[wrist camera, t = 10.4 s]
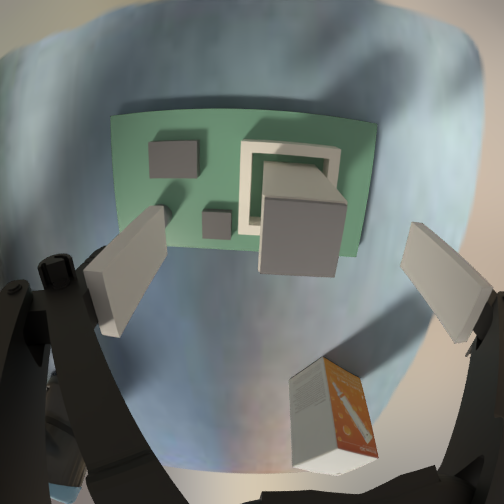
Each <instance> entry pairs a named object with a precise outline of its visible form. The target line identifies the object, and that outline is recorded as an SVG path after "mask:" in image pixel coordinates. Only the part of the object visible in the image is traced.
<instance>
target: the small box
mask: <svg viewBox="0 0 504 504" xmlns="http://www.w3.org/2000/svg"><path fill="white" fill-rule="evenodd" d="M289 399H290V420H291V446H292V467H294V468H299V469H303V470H308V471H311V472H315V473H323V474H329V475H335V476H338V475H341V474H344V473H347V472H349V471H352V470H354V469H357V468H359V467H361V466H363V465H366V464H368V463H370V462H372V461H374V460H376V459H378V458H379V457H378V453H377V449H376V443H375V439H374V434H373V430H372V425H371V421H370V416H369V412H368V408H367V404H366V400H365V396H364V392H363V388H362V384H361V380H360V378H359V377H356V376H354V375H353V374H351V373H349V372H347V371H346V370H344V369H342V368H340V367H339V366H337V365H336V364H334V363H332V362H331V361H329V360H328V359H326V358H324V357H321V358H320V359H318V360H317V361H316V362H314V363H313V364H311V365H310V366H309V367H307V368H306V369H304V370H303V371H301V372H300V373H298V374H297V375H295V376H294V377H293V378H291V379H290V380H289Z"/></svg>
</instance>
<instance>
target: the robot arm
mask: <svg viewBox="0 0 504 504" xmlns="http://www.w3.org/2000/svg"><path fill="white" fill-rule="evenodd" d="M166 256H167V245H166V233H165V220H164V206H149V207H148V208H146V209H145V210H144V211H143V212H142V213H141V214H140V215H139V216H138V217H137V218H136V219H134V220H133V221H132V222H131V223H130V224H129V225H128V226H127V227H126V228H125V229H124V230H123V231H122V232H121V233H120V234H119V235H118V236H116V237H115V238H114V239H113V240H112V241H111V242H110V243H109V244H108V245H107V246H103V247H101V248H99V249H97V250H96V251H94V252H93V253H92V254H91V255H90V256H89V258H87V259H86V260H85V261H84V263H82V264H81V265H80V266H79V267H78V268H77V269H76V270H75V268H74V264H73V260H72V257H71V256H70V255H68V254H56V255H52V256H50V257H47V258H46V259H44V260H42V261H41V262H40V263H39V265H38V271H39V275H40V278H41V281H42V284H43V287H44V290H39V291H31V288H30V285H29V283H28V281H26V280H16V281H15V280H14V281H11V282H9V283H8V284H7V285H6V286H5V287H4V288H3V289H2V290H1V292H0V504H51V498H53V499H55V500H57V501H60V502H63V503H66V504H71V503H74V502H75V500H76V498H77V496H78V493H79V491H80V490H81V488H82V487H81V486H82V483H83V479H84V477H85V474H86V471H87V470H88V475H87V477H86V484H87V487H88V490H89V492H90V495H91V497H92V499H93V501H94V503H95V504H189V503H188V501H187V500H186V499H185V498H184V496H183V495H182V494H181V492H180V491H179V490H178V488H177V487H176V485H175V484H174V483H173V481H172V480H171V479H170V477H169V475H168V474H167V473H166V471H165V470H164V468H163V467H162V465H161V463H160V462H159V460H158V459H157V457H156V456H155V454H154V453H153V451H152V450H151V448H150V446H149V445H148V443H147V441H146V440H145V438H144V436H143V435H142V433H141V431H140V429H139V427H138V426H137V424H136V422H135V420H134V418H133V417H132V415H131V413H130V411H129V409H128V407H127V405H126V403H125V401H124V399H123V397H122V395H121V393H120V391H119V389H118V387H117V385H116V382H115V380H114V378H113V376H112V374H111V371H110V369H109V367H108V364H107V362H106V360H105V357H104V355H103V352H102V350H101V347H100V345H99V342H98V340H97V337H96V334H95V332H94V328H95V327H96V325H97V324H99V327H100V330H101V333H102V335H106V336H112V337H117V338H120V337H121V335H122V333H123V331H124V329H125V327H126V325H127V323H128V322H129V320H130V318H131V316H132V314H133V313H134V311H135V309H136V307H137V305H138V304H139V302H140V300H141V298H142V297H143V295H144V293H145V291H146V290H147V288H148V286H149V285H150V283H151V281H152V279H153V278H154V276H155V274H156V273H157V271H158V269H159V268H160V266H161V264H162V263H163V261H164V259H165V258H166ZM400 267H401V268H402V270H403V271H404V272H405V273H406V275H407V276H408V277H409V279H410V280H411V281H412V283H413V284H414V285H415V287H416V288H417V289H418V291H419V292H420V294H421V295H422V296H423V298H424V299H425V300H426V302H427V303H428V305H429V306H430V308H431V309H432V310H433V312H434V313H435V315H436V316H437V318H438V319H439V321H440V322H441V324H442V325H443V327H444V328H445V330H446V331H447V333H448V334H449V336H450V337H451V339H452V340H453V342H454V344H456V343H463V342H467V340H468V338H469V337H470V335H471V333H472V331H474V332H475V334H476V335H477V336H476V338H475V339H474V341H473V343H472V345H471V346H470V348H469V350H468V352H467V353H466V355H465V356H466V357H467V356H468V355H469V354H471V357H470V364H469V369H468V375H467V380H466V384H465V389H464V393H463V398H462V402H461V406H460V409H459V413H458V417H457V420H456V424H455V427H454V430H453V433H452V437H451V439H450V442H449V446H448V448H447V451H446V454H445V456H444V459H443V462H442V464H441V466H440V468H439V469H438V471H437V470H436V467H435V465H433V466H430V467H427V468H424V469H420V470H417V471H414V472H410V473H406V474H403V475H400V476H398V477H396V478H394V479H392V480H390V481H388V482H386V483H384V484H382V485H380V486H378V487H376V488H374V489H372V490H369V491H367V492H365V493H362V494H344V493H332V492H324V491H316V490H303V491H262V493H261V496H260V499H259V500H254V501H249V502H245V503H242V504H504V292H501V291H500V292H498V294H497V293H496V292H495V291H494V290H493V286H492V285H491V284H490V283H489V282H488V281H487V280H486V279H485V278H484V277H482V276H481V274H480V273H479V272H477V271H476V270H475V269H474V268H473V267H472V266H471V265H470V264H469V263H468V262H467V261H466V260H465V259H464V258H463V257H462V256H460V255H459V254H458V253H457V252H456V251H455V250H454V249H453V248H452V247H450V246H449V245H448V244H447V243H446V242H445V241H443V240H442V239H441V238H440V237H439V236H438V235H436V234H435V233H434V232H433V231H432V230H430V229H429V228H428V227H427V226H426V225H424V224H423V223H418V222H411V227H410V231H409V235H408V239H407V243H406V247H405V250H404V254H403V258H402V261H401V265H400ZM50 347H51V348H52V353H53V359H54V364H55V368H56V373H57V375H54V376H52V377H51V378H50V380H49V381H48V383H47V374H48V364H49V355H50Z"/></svg>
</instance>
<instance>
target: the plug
mask: <svg viewBox="0 0 504 504" xmlns="http://www.w3.org/2000/svg"><path fill="white" fill-rule="evenodd" d="M347 203H348V201H347V200H346V199H345V198H344V197H343V196H342V195H341V193H340V192H339V191H338V190H337V189H336V188H335V187H334V185H333V184H332V183H331V182H330V181H329V180H328V179H327V178H326V177H325V175H324V174H323V173H322V172H321V171H320V170H319V169H318V168H317V167H316V166H315V165H314V164H303V163H291V162H277V161H264V168H263V186H262V204H261V224H260V244H259V263H258V271H260V274H274V275H293V276H312V277H335V272H336V267H337V263H338V258H339V252H340V247H341V242H342V236H343V231H344V225H345V219H346V213H347V207H348V206H347Z"/></svg>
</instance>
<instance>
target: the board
mask: <svg viewBox="0 0 504 504" xmlns="http://www.w3.org/2000/svg"><path fill="white" fill-rule="evenodd" d="M110 117H111V149H112V166H113V179H114V190H115V199H116V208H117V216H118V224H119V231H120V233H121V232H122V231H123V230H124V229H125V228H126V227H127V226H128V225H129V224H130V223H131V222H132V221H133V220H134V219H136V218H137V217H138V216H139V215H140V214H141V213H142V212H143V211H144V210H145V209H146V208H148V207H149V206H164V220H165V233H166V245H167V246H175V247H192V248H209V249H227V250H244V251H259V244H260V224H261V204H262V186H263V168H264V161H277V162H291V163H303V164H314V165H315V166H316V167H317V168H318V169H319V170H320V171H321V172H322V173H323V174H324V175H325V177H326V178H327V179H328V180H329V181H330V182H331V183H332V184H333V185H334V187H335V188H336V189H337V190H338V191H339V192H340V193H341V195H342V196H343V197H344V198H345V199H346V200H347V201H348V203H347V206H348V207H347V213H346V219H345V225H344V231H343V236H342V242H341V247H340V252H339V256H345V257H356V255H357V251H358V246H359V241H360V237H361V232H362V227H363V221H364V216H365V211H366V205H367V199H368V193H369V187H370V180H371V174H372V166H373V159H374V151H375V142H376V133H377V124H375V123H370V122H364V121H359V120H353V119H346V118H340V117H333V116H325V115H317V114H308V113H299V112H287V111H274V110H256V109H182V110H164V111H151V112H140V113H131V114H122V115H114V116H110Z"/></svg>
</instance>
